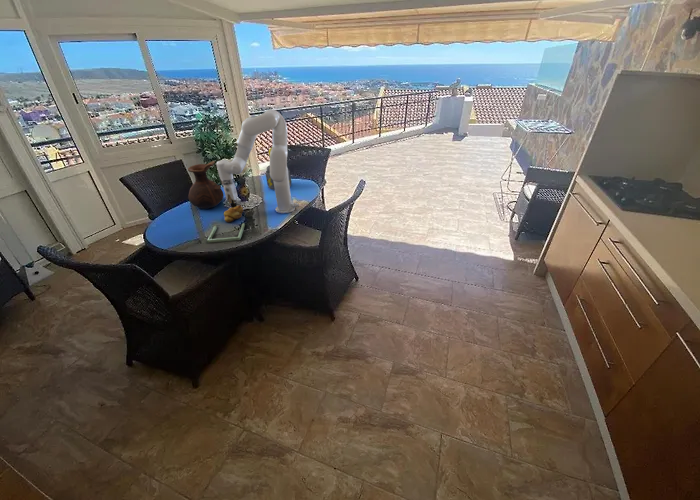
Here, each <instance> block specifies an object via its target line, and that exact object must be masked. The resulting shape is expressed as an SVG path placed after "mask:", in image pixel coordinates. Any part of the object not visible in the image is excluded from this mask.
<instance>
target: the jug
mask: <svg viewBox="0 0 700 500" xmlns="http://www.w3.org/2000/svg"><path fill="white" fill-rule="evenodd" d="M215 163H216V161H214V160H212V161H210V162H208V163H207V164H206V163H197V164H194V165H190V166H189V167H188V168H187V171H188V172H189V173H193V175H194V179H195V180H194V182H193V183H192V185H191V186H190V188H189V191H188V196H187V199H188V201H189V202H190V204H191V205H192V206H194V207H197V208H198V209H201V210H202V209H203V210H206V209H207V210H209V209H212V208H214V207H217V206H218V205H219V204H220V203H221V202H222V201H223V200H224V195H225V194H224V190H222V188H221V187H222V185H219V184H217V183H216V182H215V181H213V180H211V179H209V178H208V175H207V172H208V171H209V170H210V169H211V167H214V164H215Z"/></svg>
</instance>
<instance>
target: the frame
mask: <svg viewBox="0 0 700 500" xmlns="http://www.w3.org/2000/svg"><path fill="white" fill-rule="evenodd" d="M245 227H246V224H245V222H243V223H242V224H241V227H240V230H239V232H238V236H232V237H231V236H230V237H218V238H213V237H214V235H215V233H216V231H217V229H218V226H217V225H213V227H212V229H211V231H210V233H209V235H208V238H207V239H206V243H207V244H209V243H220V242H231V241H240V240H241V238H242V236H243V233H244V229H245Z"/></svg>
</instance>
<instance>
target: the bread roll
mask: <svg viewBox="0 0 700 500" xmlns="http://www.w3.org/2000/svg"><path fill="white" fill-rule="evenodd" d="M243 213H244V208H243V206H242V205H241V204H238V205H237V206H236V207H232V208H231V207H229V208H228V209H227V210H225V211H224V212H223V216H224V218H223V219H224V221H225V222H226V223H232V222H234V221H237V220H239V219H241V218H242V216H243Z"/></svg>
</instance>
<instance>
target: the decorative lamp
mask: <svg viewBox="0 0 700 500" xmlns="http://www.w3.org/2000/svg"><path fill="white" fill-rule="evenodd" d="M271 149H272V147H270V148H269V150H268V157H270V152H271ZM287 168H288V166H287ZM288 177H289V185H290V187H292V176H291V171H290V169H289V168H288ZM265 179H266V185H267V187H268V188H269V189H270V190H272V191H275V188H274V182H273V180H272V178H271V177H270V164H269V165H267V166H266V171H265Z"/></svg>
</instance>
